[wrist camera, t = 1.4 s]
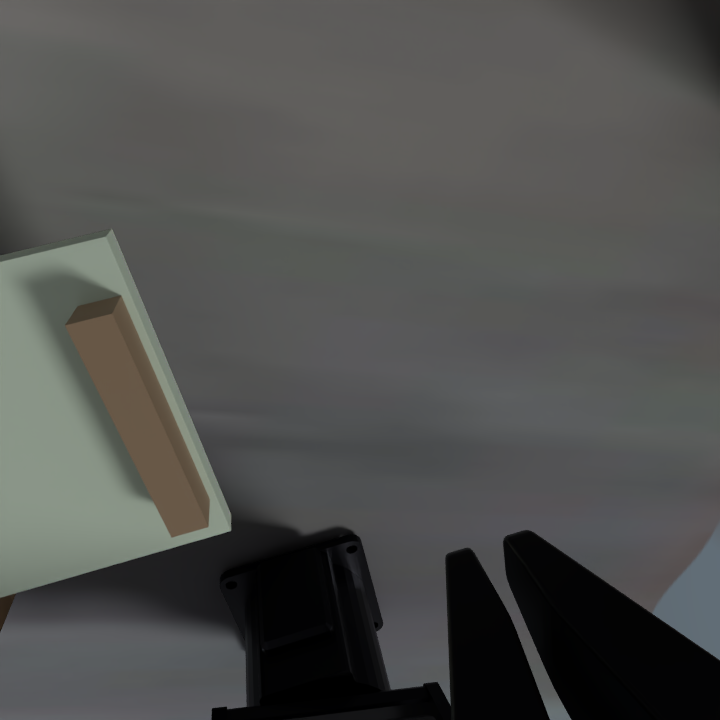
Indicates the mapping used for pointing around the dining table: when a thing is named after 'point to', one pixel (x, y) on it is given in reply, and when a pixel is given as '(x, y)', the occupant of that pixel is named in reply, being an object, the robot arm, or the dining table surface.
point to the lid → (90, 422)
